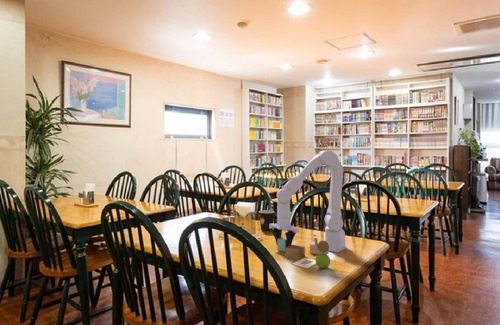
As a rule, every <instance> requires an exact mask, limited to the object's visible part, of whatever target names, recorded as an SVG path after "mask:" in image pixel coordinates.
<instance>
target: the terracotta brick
mask: <svg viewBox="0 0 500 325" xmlns="http://www.w3.org/2000/svg"><path fill="white" fill-rule="evenodd" d="M309 254H313V255H319V254H320V253H319V252H318V251H317V250H316V247H315V242H314V241H311V243H310V244H309Z"/></svg>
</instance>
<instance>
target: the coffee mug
mask: <svg viewBox="0 0 500 325" xmlns="http://www.w3.org/2000/svg"><path fill="white" fill-rule="evenodd" d="M258 216H259V224H260V230H261V231H262V230H264V231H263V232H271V231H270V230H273V228H269V224H271V223H273V224H277V215H275V211H274V210H269V209H267V210H266V209H264V210H259V211H258ZM274 217H275V218H276V221H275V222H274V220H275V219H274Z"/></svg>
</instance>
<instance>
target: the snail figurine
mask: <svg viewBox="0 0 500 325" xmlns="http://www.w3.org/2000/svg"><path fill="white" fill-rule="evenodd" d="M313 242H315V247H316V250H317V251H318V252H319V253H320V254H316V257H315V260H316V264H315V265H317V267H318V268H320V269H327V268H328V267H329V266H330V265H331V258H330V256H329V253H330V251H328V250H329V245H328V243H327V242H326V241H325V240H319V242H318V238H317V235H316V234H314V235H313Z"/></svg>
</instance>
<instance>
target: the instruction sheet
mask: <svg viewBox="0 0 500 325" xmlns="http://www.w3.org/2000/svg"><path fill="white" fill-rule="evenodd" d="M292 265H293V266H297V267H301V268H304V269H310V268H312V267H314V266H316V265H317V264H316V259H311V258H307V257H302V258H300V259H298V260H296V261H295V262H293V263H292Z"/></svg>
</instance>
